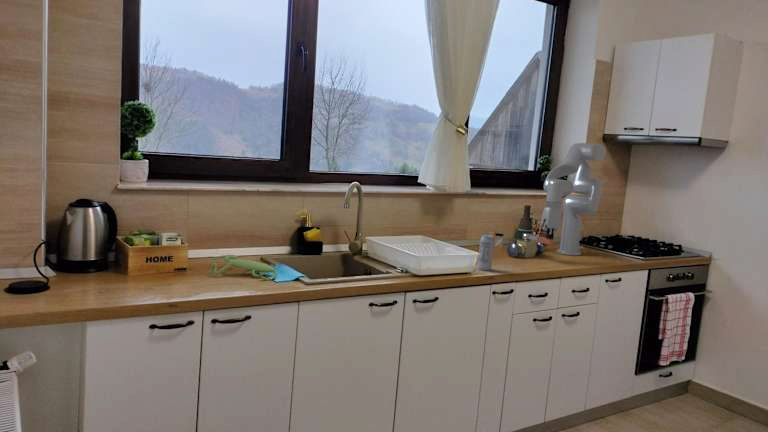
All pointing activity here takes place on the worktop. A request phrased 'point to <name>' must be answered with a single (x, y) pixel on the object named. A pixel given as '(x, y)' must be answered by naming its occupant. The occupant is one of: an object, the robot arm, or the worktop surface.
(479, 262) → the energy drink can
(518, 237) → the beer bottle
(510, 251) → the valve
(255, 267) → the figurine
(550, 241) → the lever
